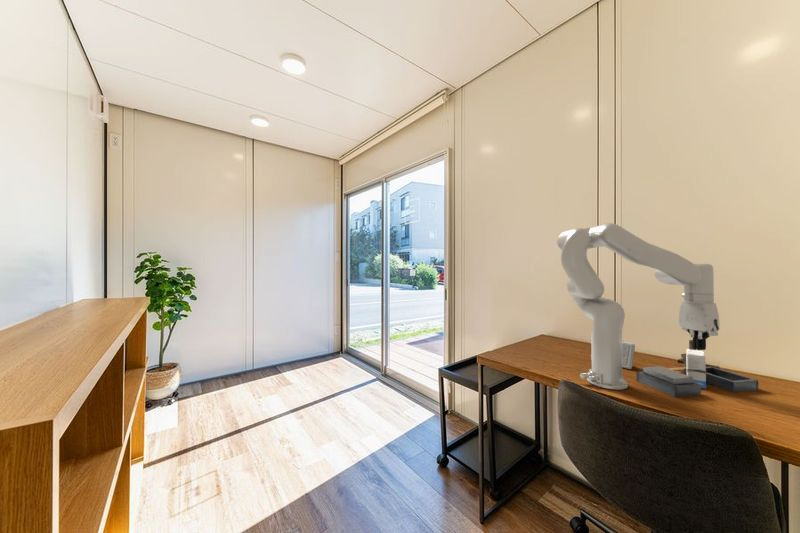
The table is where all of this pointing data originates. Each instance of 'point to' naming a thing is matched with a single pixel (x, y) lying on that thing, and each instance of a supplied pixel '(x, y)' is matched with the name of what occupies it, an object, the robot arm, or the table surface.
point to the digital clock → (627, 354)
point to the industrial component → (685, 354)
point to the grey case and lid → (683, 385)
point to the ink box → (696, 366)
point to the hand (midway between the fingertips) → (699, 349)
